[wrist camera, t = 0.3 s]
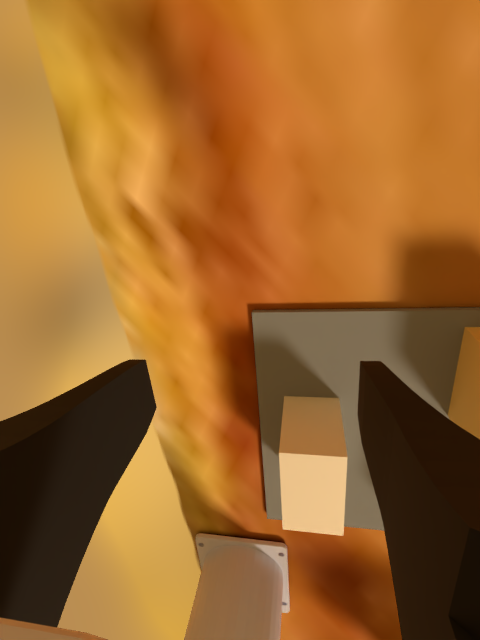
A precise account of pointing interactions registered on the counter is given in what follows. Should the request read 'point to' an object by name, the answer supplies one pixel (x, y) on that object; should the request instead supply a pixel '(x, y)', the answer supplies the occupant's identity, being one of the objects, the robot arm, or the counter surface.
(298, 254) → the counter surface
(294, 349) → the rubber mat
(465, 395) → the mustard block
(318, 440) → the cream block
